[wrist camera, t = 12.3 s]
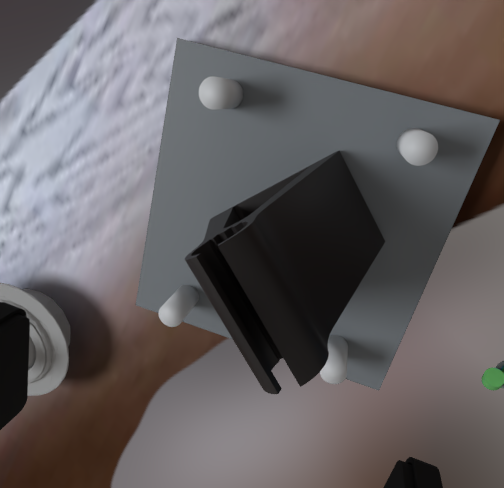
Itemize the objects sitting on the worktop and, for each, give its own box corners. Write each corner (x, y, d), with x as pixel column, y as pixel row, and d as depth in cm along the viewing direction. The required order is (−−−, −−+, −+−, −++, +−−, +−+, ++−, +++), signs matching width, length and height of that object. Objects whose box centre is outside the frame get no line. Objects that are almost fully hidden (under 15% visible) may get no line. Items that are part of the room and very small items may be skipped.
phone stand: (340, 149, 24) (327, 191, 13) (385, 240, 25) (409, 352, 14) (211, 216, 27) (110, 297, 16) (256, 295, 28) (190, 422, 17)
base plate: (492, 119, 22) (521, 122, 19) (377, 379, 29) (381, 421, 25) (185, 40, 25) (153, 29, 21) (143, 297, 31) (113, 325, 28)
